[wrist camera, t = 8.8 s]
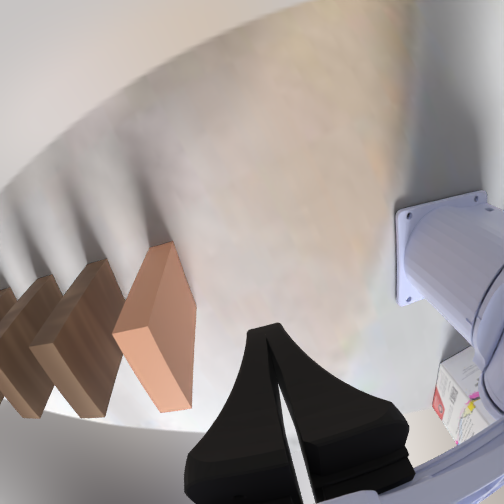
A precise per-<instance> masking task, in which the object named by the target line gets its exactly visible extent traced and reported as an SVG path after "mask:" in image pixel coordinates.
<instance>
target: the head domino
mask: <svg viewBox="0 0 504 504" xmlns="http://www.w3.org/2000/svg"><path fill="white" fill-rule="evenodd" d="M196 309H197V307H196V304H195V301H194V299H193V296H192V293H191V291H190V288H189V285H188V282H187V280H186V277H185V274H184V271H183V268H182V266H181V263H180V260H179V257H178V254H177V251H176V248H175V245H174V242H173V241H172V242H168V243H165V244H161V245H158V246H154V247H150V248H149V250H148V252H147V255H146V257H145V259H144V261H143V263H142V265H141V267H140V270H139V272H138V274H137V276H136V278H135V281H134V283H133V285H132V287H131V290H130V292H129V294H128V296H127V299H126V301H125V303H124V306H123V308H122V310H121V313H120V315H119V318H118V320H117V323H116V325H115V327H114V330H113V332H112V335H113V337H114V339H115V340H116V342H117V344H118V346H119V347H120V349H121V351H122V353H123V354H124V356H125V358H126V360H127V361H128V363H129V365H130V366H131V368H132V370H133V371H134V373H135V375H136V376H137V378H138V379H139V381H140V383H141V384H142V386H143V387H144V389H145V390H146V392H147V393H148V395H149V397H150V398H151V400H152V401H153V403H154V404H155V406H156V407H157V408H158V410H159V411H160V413H164V412H171V411H178V410H185V409H191V408H192V385H193V362H194V342H195V325H196Z"/></svg>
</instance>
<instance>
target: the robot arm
mask: <svg viewBox="0 0 504 504" xmlns="http://www.w3.org/2000/svg"><path fill="white" fill-rule="evenodd" d="M474 198H475V200H474ZM408 213H410V215H409V217H407V214H408ZM396 242H397V298H396V301H397V304H398V305H399V306H405V305H408V304H410V303H413V302H416V301H419V300H421V299H424V298H425V299H426V300H427V301H428V302H429V303H430V304H431V305H432V306H433V307H434V308H435V309H436V310H437V311H438V312H439V313H440V314H441V315H442V316H443V317H444V318H445V319H446V320H447V321H448V322H449V323H450V324H451V325H452V326H453V327H454V328H455V329H456V330H457V331H458V332H459V333H460V334H461V335H462V336H463V337H464V338H465V339H466V340H467V341H468V342H469V343H470V344H471V346H472V347H473V348H474V349H475V354H474V357H473V360H472V361H473V362H474V363H475V365H476V366H477V367H478V368H479V369H480V370H481V371H482V372H481V374H480V377H479V381H478V392H479V396H480V399H481V401H482V403H483V405H484V407H485V409H486V410H487V411H488V413H489V414H490V415H491V416H492V417H493V418H494V419H495V420H496V421H495V422H494V423H492V424H491V425H490V426H488V427H487V428H485V429H483V430H482V431H480V432H479V433H477V434H476V435H474V436H472V437H471V438H469V439H467V440H466V441H464V442H462V443H461V444H459V445H457V446H456V447H454V448H452V449H450V450H448V451H447V452H445V453H443V454H441V455H439V456H437V457H435V458H433V459H431V460H430V461H427V462H426V463H423V464H421V465H419V466H417V467H415V468H413V467H412V465H411V463H410V461H409V459H408V456H409V454H408V451H407V449H406V447H405V443H406V440H407V436H408V433H409V425H408V423H407V421H406V419H405V418H404V416H403V415H402V414H401V412H400V411H399V410H398V409H397V408H396V407H395V405H394V404H393V403H392V402H390V401H386V400H383V399H380V398H377V397H374V396H372V395H369V394H367V393H365V392H362V391H360V390H358V389H356V388H354V387H352V386H350V385H349V384H347V383H345V382H343V381H341V380H340V379H338V378H336V377H335V376H333V375H332V374H330V373H329V372H327V371H326V370H325V369H323V368H322V367H321V366H319V365H318V364H317V363H316V362H315V361H313V360H312V359H311V358H310V357H309V356H308V355H307V354H306V353H305V352H304V351H303V350H302V349H301V348H300V347H299V346H298V345H297V344H296V343H295V342H294V341H293V340H292V339H291V337H290V336H289V335H288V334H287V332H286V331H285V330H284V328H283V326H282V325H281V324H280V323H274V324H270V325H267V326H263V327H259V328H255V329H250V330H248V332H247V339H246V346H245V351H244V356H243V360H242V363H241V367H240V370H239V373H238V376H237V379H236V381H235V384H234V386H233V389H232V391H231V393H230V395H229V397H228V399H227V401H226V403H225V405H224V407H223V409H222V410H221V412H220V414H219V415H218V417H217V419H216V420H215V422H214V423H213V424H212V426H211V427H210V429H209V430H208V431H207V433H206V434H205V435H204V437H203V438H202V439H201V440H200V441H199V442H198V444H197V445H196V446H195V447H194V448H193V449H192V450H191V451H190V452H189V453H188V456H187V461H186V466H185V472H184V492H185V494H186V495H187V496H188V497H189V498H190V499H191V500H192V501H193V502H194V503H196V504H303V500H302V496H301V492H300V488H299V485H298V481H297V477H296V473H295V469H294V466H293V461H292V458H291V453H290V450H289V446H288V442H287V438H286V434H285V428H284V423H283V415H282V408H281V401H280V394H279V387H280V389H281V392H282V394H283V397H284V400H285V402H286V405H287V407H288V410H289V413H290V415H291V418H292V420H293V423H294V426H295V429H296V432H297V436H298V440H299V443H300V447H301V451H302V454H303V458H304V461H305V465H306V469H307V473H308V477H309V480H310V484H311V488H312V491H313V495H314V499H315V503H316V504H479V503H480V502H481V501H483V500H484V499H486V498H487V497H488V496H490V495H491V494H493V493H494V492H495V491H497V490H498V489H499V488H501V487H502V486H503V485H504V210H502V209H500V208H498V207H495V206H493V205H491V204H489V203H487V192H486V191H484V190H479V191H475V192H471V193H466V194H462V195H458V196H454V197H450V198H445V199H441V200H437V201H433V202H429V203H424V204H420V205H416V206H412V207H408V208H404V209H400V210H398V212H397V213H396ZM408 297H409V298H408ZM407 298H408V299H407ZM406 299H407V300H406ZM278 384H279V387H278Z"/></svg>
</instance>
